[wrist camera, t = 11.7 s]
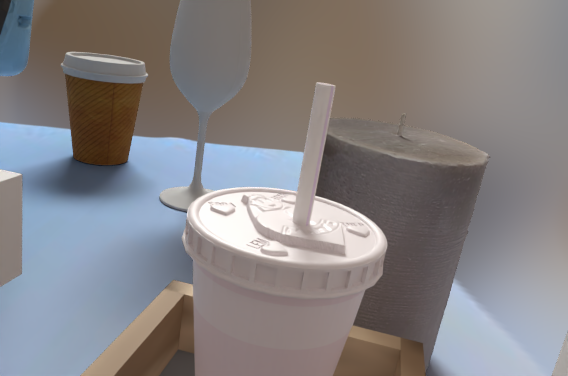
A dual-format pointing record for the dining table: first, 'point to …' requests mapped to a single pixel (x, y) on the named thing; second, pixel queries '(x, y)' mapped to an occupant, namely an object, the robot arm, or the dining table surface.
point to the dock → (179, 365)
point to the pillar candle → (405, 215)
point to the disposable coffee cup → (102, 105)
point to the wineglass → (207, 70)
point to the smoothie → (279, 271)
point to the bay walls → (180, 335)
